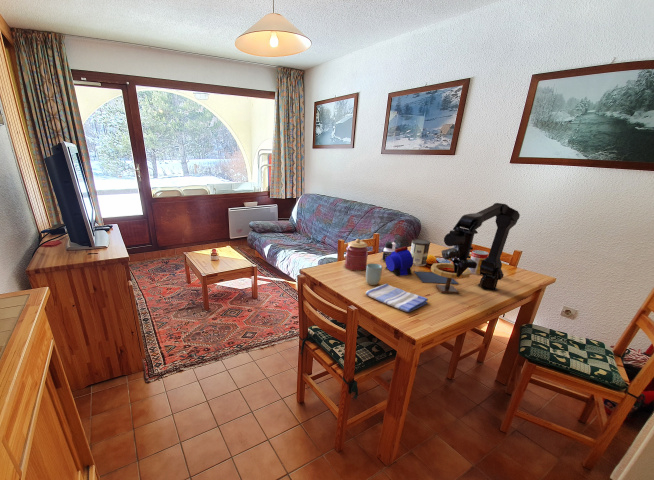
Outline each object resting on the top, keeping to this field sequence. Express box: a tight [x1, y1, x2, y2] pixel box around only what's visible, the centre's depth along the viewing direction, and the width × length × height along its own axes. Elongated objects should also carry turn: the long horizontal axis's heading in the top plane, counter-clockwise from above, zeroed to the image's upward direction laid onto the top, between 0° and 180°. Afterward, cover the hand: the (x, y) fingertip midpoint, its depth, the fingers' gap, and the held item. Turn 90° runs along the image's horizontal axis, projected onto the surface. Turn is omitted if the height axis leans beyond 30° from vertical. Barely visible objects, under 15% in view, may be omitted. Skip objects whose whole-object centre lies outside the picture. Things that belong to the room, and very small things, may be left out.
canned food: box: [468, 249, 489, 276], centre depth 177 cm, size 8×8×12 cm
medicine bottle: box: [381, 241, 397, 263], centre depth 195 cm, size 7×7×12 cm
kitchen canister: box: [344, 238, 369, 271], centre depth 183 cm, size 13×13×18 cm
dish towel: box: [365, 283, 429, 313], centre depth 145 cm, size 17×24×3 cm
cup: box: [365, 263, 383, 286], centre depth 161 cm, size 8×8×10 cm
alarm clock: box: [385, 245, 414, 277], centre depth 176 cm, size 12×12×15 cm
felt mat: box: [413, 271, 459, 285], centre depth 171 cm, size 18×16×1 cm
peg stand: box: [435, 277, 459, 295], centre depth 154 cm, size 8×8×8 cm
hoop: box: [430, 262, 472, 280], centre depth 152 cm, size 17×17×2 cm
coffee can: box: [409, 238, 431, 267], centre depth 190 cm, size 10×10×14 cm
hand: (456, 275), depth 145 cm, fingers closed on hoop, 2 cm apart
